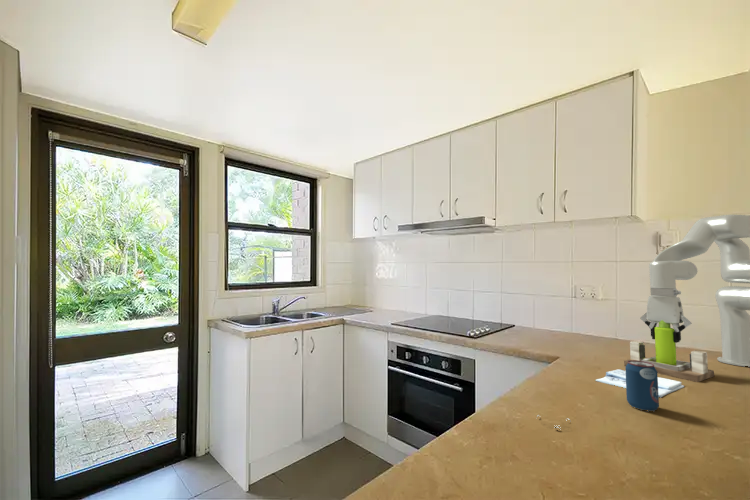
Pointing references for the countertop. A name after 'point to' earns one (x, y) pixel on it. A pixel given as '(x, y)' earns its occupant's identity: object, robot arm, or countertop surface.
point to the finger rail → (682, 369)
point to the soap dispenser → (665, 344)
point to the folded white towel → (619, 380)
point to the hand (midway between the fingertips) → (665, 340)
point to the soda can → (642, 385)
